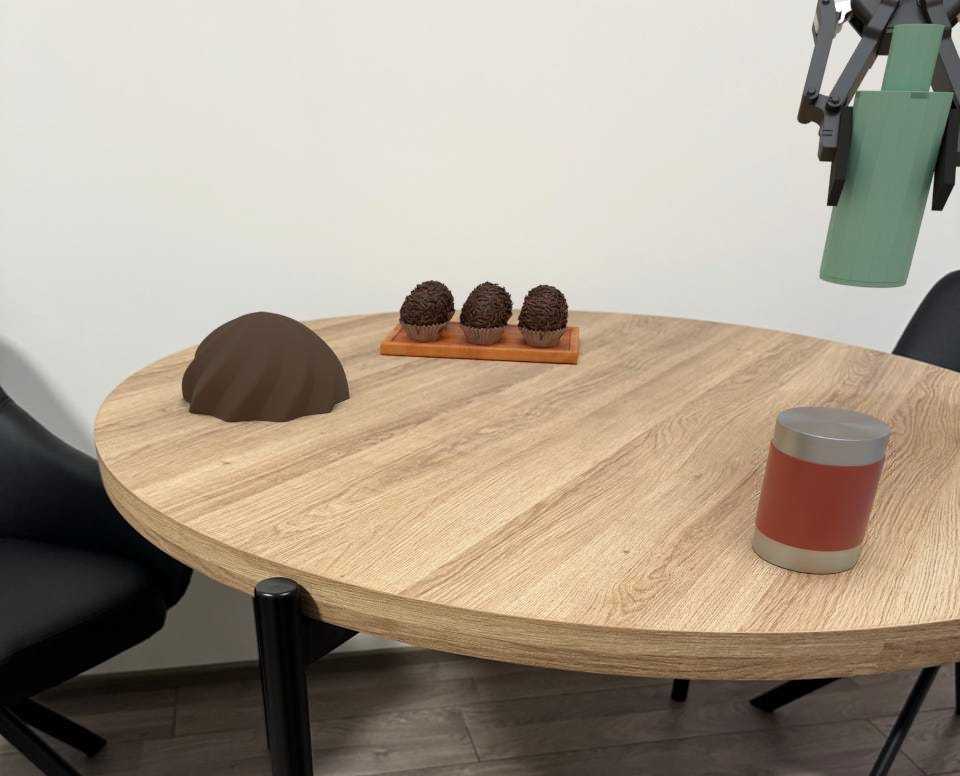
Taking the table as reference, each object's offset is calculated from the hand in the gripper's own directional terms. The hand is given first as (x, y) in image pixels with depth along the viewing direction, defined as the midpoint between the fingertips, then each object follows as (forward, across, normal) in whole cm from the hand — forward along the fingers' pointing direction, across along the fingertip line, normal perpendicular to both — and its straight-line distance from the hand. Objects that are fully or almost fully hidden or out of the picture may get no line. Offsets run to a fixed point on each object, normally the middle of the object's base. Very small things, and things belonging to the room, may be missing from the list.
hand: (888, 195), depth 66 cm
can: (+23, +1, -15) cm, 27 cm away
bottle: (+2, 0, -7) cm, 7 cm away
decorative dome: (+3, +62, -34) cm, 71 cm away
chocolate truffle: (-21, +43, -58) cm, 75 cm away
